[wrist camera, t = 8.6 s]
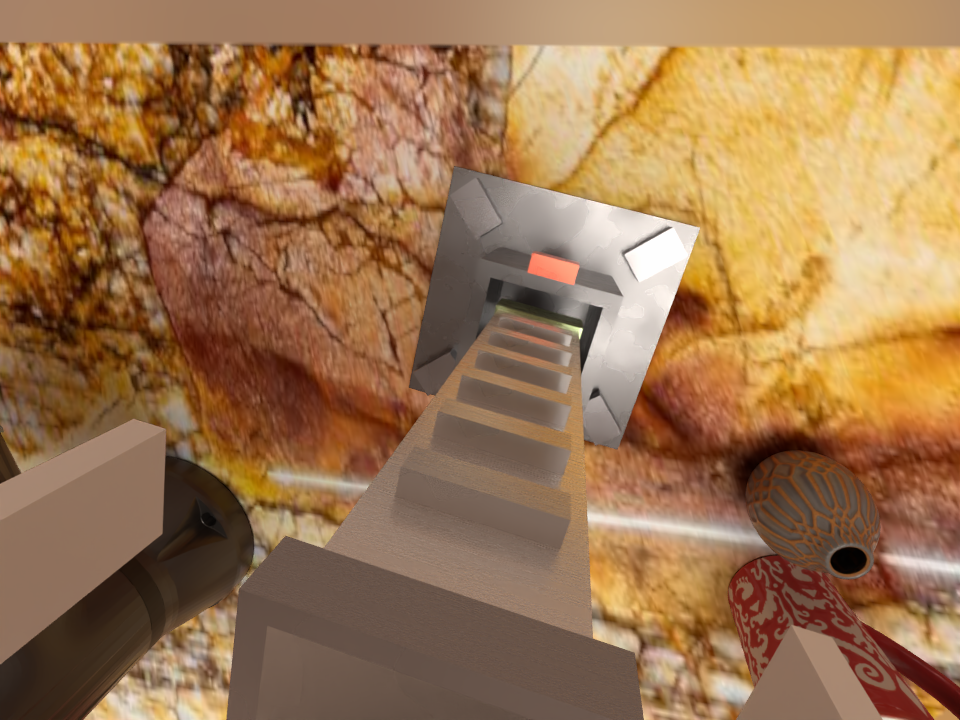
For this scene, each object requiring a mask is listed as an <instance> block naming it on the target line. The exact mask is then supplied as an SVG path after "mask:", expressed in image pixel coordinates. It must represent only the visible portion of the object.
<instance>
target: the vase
mask: <svg viewBox="0 0 960 720" xmlns="http://www.w3.org/2000/svg"><path fill="white" fill-rule="evenodd" d="M746 506H747V511H748V514H749V517H750V519H751V522H752V524H753V526H754V527H755V529H756V531H757V532H758V534H759V535H760V537H761V538H762V539H763V541H764V542H765V543H766V544H767V545H768V546H769V547H770V548H771V549H772V550H773V551H775V552H776V553H777V554H778V555H780V556H781V557H782V558H784V559H785V560H787V561H789V562H790V563H792V564H794V565H796V566H799V567H801V568H804V569H807V570H811V571H816V572H823V573H829V574H831V575H833V576H835V577H838V578H841V579H856V578H859V577H861V576H863V575H865V574H866V573H868V572H869V571H870V569H871V568H872V566H873V562H874V556H873V552H874V549H875V547H876V545H877V542H878V540H879V536H880V518H879V514H878V510H877V507H876V505H875V502H874V500H873V498H872V496H871V494H870V493H869V491H868V490H867V488H866V487H865V485H864V484H863V483H862V482H861V481H860V480H859V479H858V478H857V477H856V476H855V475H854V474H853V473H852V472H851V471H850V470H848V469H847V468H846V467H844V466H843V465H842V464H840V463H838V462H837V461H835V460H833V459H831V458H829V457H826V456H824V455H821V454H818V453H814V452H809V451H801V450H791V451H784V452H780V453H777V454H774V455H772V456H770V457H768V458H766V459H765V460H763V461H762V462H761V463H760V464H759V465H758V466H757V467H756V468H755V469H754V470H753V472H752V473H751V475H750V477H749V479H748V483H747V486H746Z"/></svg>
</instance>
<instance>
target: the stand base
mask: <svg viewBox="0 0 960 720" xmlns="http://www.w3.org/2000/svg"><path fill="white" fill-rule="evenodd" d="M699 230H700V228H699V227H695V226H691V225H687V224H683V223H679V222H675V221H671V220H667V219H663V218H659V217H655V216H651V215H647V214H643V213H639V212H635V211H631V210H627V209H623V208H619V207H615V206H611V205H607V204H603V203H599V202H595V201H591V200H587V199H583V198H579V197H575V196H571V195H567V194H563V193H559V192H555V191H551V190H547V189H543V188H539V187H535V186H531V185H527V184H523V183H519V182H515V181H511V180H507V179H504V178H500V177H496V176H492V175H488V174H484V173H480V172H476V171H472V170H468V169H464V168H460V167H456V166H454V171H453V175H452V180H451V185H450V190H449V195H448V200H447V205H446V209H445V214H444V219H443V224H442V229H441V234H440V239H439V243H438V248H437V253H436V258H435V263H434V268H433V272H432V277H431V282H430V287H429V292H428V297H427V302H426V306H425V311H424V316H423V321H422V326H421V331H420V336H419V340H418V345H417V350H416V355H415V360H414V365H413V370H412V374H411V379H410V384H409V388H412V389H415V390H419V391H422V392H425V393H426V394H427V395H430V394H432V395H436V394H437V392H438V391H439V390H440V388H441V387H442V386H443V384H444V383H445V381H446V380H447V379H448V377H449V376H450V375H451V373H452V372H453V371H454V369H455V368H456V366H457V365H458V364H459V362H460V361H461V360H462V358H463V357H464V355H465V354H466V353H467V351H468V350H469V349H470V347H471V346H472V344H473V343H474V342H475V340H476V339H477V338H478V336H479V335H480V333H481V332H482V331H483V329H484V328H485V327H486V325H487V324H488V323H489V321H490V320H491V318H492V317H493V316H494V312H495V308H496V305H497V303H498V302H499V301H500V300H501V298H504V299H508V300H512V301H515V302H519V303H523V304H526V305H530V306H534V307H537V308H541V309H545V310H548V311H552V312H556V313H559V314H563V315H566V316H570V317H574V318H577V319H581V320H582V324H583V330H582V333H581V336H580V339H579V344H580V367H581V389H582V411H583V433H584V440H587V441H590V442H594V444H595V445H598V444H600V445H604V446H607V447H610V448H614V449H618V447H619V444H620V441H621V438H622V436H623V433H624V430H625V428H626V425H627V422H628V420H629V417H630V414H631V412H632V409H633V406H634V404H635V401H636V398H637V396H638V393H639V390H640V388H641V385H642V382H643V380H644V377H645V374H646V372H647V369H648V366H649V364H650V361H651V358H652V356H653V353H654V350H655V348H656V345H657V342H658V340H659V337H660V334H661V332H662V329H663V326H664V324H665V321H666V318H667V316H668V313H669V310H670V307H671V305H672V302H673V299H674V297H675V294H676V291H677V289H678V286H679V283H680V281H681V278H682V275H683V273H684V270H685V267H686V265H687V262H688V259H689V257H690V254H691V251H692V249H693V246H694V243H695V241H696V238H697V235H698V233H699Z"/></svg>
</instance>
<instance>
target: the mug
mask: <svg viewBox="0 0 960 720" xmlns="http://www.w3.org/2000/svg"><path fill="white" fill-rule="evenodd" d="M728 600H729V604H730V608H731V611H732V614H733V618H734V621H735V624H736V627H737V630H738V634H739V637H740V641H741V646H742V648H743V651H744V654H745V659H746V662H747V665H748V668H749V671H750V674H751V677H752V681H753V684H754V688H755V686H756V685H757V683H758V681H759V680H760V678H761V676H762V674H763V673H764V671H765V669H766V667H767V666H768V664H769V662H770V660H771V659H772V657H773V655H774V654H775V652H776V650H777V648H778V647H779V645H780V643H781V641H782V640H783V638H784V636H785V634H786V633H787V631H788V629H789V628H790V626H791V625H794V626H797V627H800V628H803V629H807V630H810V631H813V632H816V633H819V634H823V635H826V636H829V637H832V638H833V640H834V641H835V643H836V645H837V646H838V648H839V649H840V651H841V653H842V654H843V656H844V658H845V659H846V661H847V662H848V664H849V666H850V667H851V669H852V670H853V672H854V674H855V675H856V677H857V679H858V680H859V682H860V683H861V685H862V687H863V688H864V690H865V692H866V693H867V695H868V696H869V698H870V700H871V701H872V703H873V705H874V706H875V708H876V709H877V711H878V713H879V714H880V716H881V717H882V719H883V720H934V719H933V717H932V716H931V715H930V713H929V712H928V711H927V709H926V708H925V707H924V705H923V704H922V703H921V701H920V700H919V699H918V697H917V696H916V695H915V693H914V692H913V691H912V689H911V688H910V687H909V685H908V684H907V683H906V682H905V680H904V679H903V678H902V676H901V675H900V674H899V672H900V673H901V674H902V675H904V676H905V677H907V678H908V679H909V680H911V681H912V682H914V683H915V684H916V685H918V686H919V687H920V688H922V689H923V690H925V691H926V692H927V693H929V694H930V695H931V696H933V697H934V698H935V699H936V700H938V701H939V702H940V703H941V704H942V705H943V706H945V707H946V708H947V709H948V710H950V711H951V712H952V713H953V714H954V715H955V716H956V717H957V718H958V719H959V720H960V688H959V687H958V686H957V685H956V684H955V683H953V682H952V681H951V680H950V679H948V678H947V677H946V676H944V675H943V674H942V673H940V672H939V671H938V670H936V669H935V668H933V667H932V666H930V665H929V664H928V663H926V662H925V661H923V660H922V659H920V658H919V657H917V656H916V655H914V654H913V653H911V652H910V651H908V650H907V649H905V648H904V647H902V646H901V645H899V644H898V643H896V642H895V641H893V640H891V639H890V638H888V637H886V636H885V635H883V634H882V633H880V632H878V631H877V630H875V629H873V628H872V627H870V626H868V625H866V624H865V623H862V622H861V621H859V619H858V618H857V617H856V615H855V614H854V613H853V611H852V610H851V609H850V607H849V606H848V605H847V604H846V602H845V601H844V600H843V598H842V597H841V596H840V594H839V593H838V591H837V590H836V588H835V587H834V586H833V584H832V583H831V582H830V580H829V579H828V578H827V577H826V575H825V574H824V573H823V572H816V571H811V570H807V569H804V568H801V567H799V566H796V565H794V564H792V563H790V562H789V561H787V560H785V559H784V558H782V557H781V556H780V555H776V556H768V557H763V558H760V559H757V560H754V561H752V562H750V563H748V564H747V565H745V566H744V567H742V568H741V569H740V570H739V571H738V572H737V573H736V574H735V576H734V577H733V579H732V581H731V583H730V585H729V590H728Z"/></svg>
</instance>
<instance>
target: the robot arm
mask: <svg viewBox="0 0 960 720" xmlns="http://www.w3.org/2000/svg"><path fill="white" fill-rule="evenodd" d="M1 432H4V431H3V428H2V426H1V425H0V720H83V719H84V718H85V717H86V716H87V715H88V714H89V713H90V712H91V711H92V710H93V709H94V708H95V707H96V706H97V705H98V703H99V702H100V701H101V700H102V699H103V698H104V697H105V696H106V695H107V694H108V693H109V692H110V691H111V690H112V689H113V688H114V687H115V686H116V684H117V683H118V682H119V681H120V680H121V679H122V678H123V677H124V676H125V675H126V674H127V673H128V672H129V671H130V670H131V669H132V668H133V666H134V665H135V664H136V663H137V662H138V661H139V660H140V659H141V658H142V657H143V656H144V655H145V654H146V653H147V651H148V650H149V649H150V648H151V647H152V646H153V645H154V644H155V643H156V642H157V641H158V640H159V639H160V638H161V637H162V636H163V635H165V634H167V633H168V632H170V631H172V630H173V629H175V628H177V627H178V626H180V625H182V624H183V623H185V622H187V621H188V620H190V619H192V618H193V617H195V616H196V615H198V614H200V613H201V612H203V611H204V610H206V609H207V608H210V607H212V606H214V605H216V604H218V603H219V602H220V601H222V600H223V599H224V598H225V597H226V596H228V594H229V593H230V592H231V591H232V590H233V589H234V588H235V587H236V586H237V584H238V583H239V582H240V581H241V580H242V579H243V578H244V576H245V575H246V573H247V572H248V570H249V567H250V565H251V561H252V557H253V538H252V533H251V529H250V526H249V523H248V520H247V518H246V516H245V514H244V512H243V510H242V508H241V506H240V505H239V503H238V502H237V500H236V499H235V498H234V496H233V495H232V494H231V493H230V492H229V491H228V489H227V488H226V487H225V486H224V485H223V484H222V483H220V482H219V481H218V480H217V479H216V478H214V477H213V476H212V475H210V474H209V473H207V472H206V471H204V470H203V469H201V468H199V467H197V466H195V465H193V464H191V463H189V462H186V461H183V460H180V459H176V458H172V457H165V449H166V429H165V428H161V427H158V426H155V425H152V424H149V423H146V422H142V421H139V420H136V419H132V420H130V421H128V422H126V423H124V424H122V425H120V426H118V427H116V428H114V429H112V430H110V431H108V432H106V433H104V434H102V435H99V436H97V437H95V438H93V439H91V440H89V441H87V442H85V443H83V444H81V445H79V446H77V447H75V448H73V449H71V450H69V451H67V452H65V453H62V454H60V455H58V456H56V457H54V458H52V459H50V460H48V461H46V462H44V463H42V464H40V465H38V466H36V467H34V468H32V469H30V470H28V471H26V472H23V473H21V472H20V470H19V468H18V466H17V464H16V462H15V460H14V458H13V456H12V454H11V452H10V450H9V449H8V447H7V445H6V443H5V441H4V439H3V437H2V435H1ZM736 720H883V719H882V717H881V716H880V714H879V713H878V711H877V709H876V708H875V706H874V705H873V703H872V701H871V700H870V698H869V696H868V695H867V693H866V692H865V690H864V688H863V687H862V685H861V683H860V682H859V680H858V679H857V677H856V675H855V674H854V672H853V670H852V669H851V667H850V666H849V664H848V662H847V661H846V659H845V658H844V656H843V654H842V653H841V651H840V649H839V648H838V646H837V645H836V643H835V641H834V640H833V638H832V637H829V636H826V635H823V634H819V633H816V632H813V631H810V630H807V629H803V628H800V627H797V626H794V625H791V626H790V628H789V629H788V631H787V633H786V634H785V636H784V638H783V640H782V641H781V643H780V645H779V647H778V648H777V650H776V652H775V654H774V655H773V657H772V659H771V660H770V662H769V664H768V666H767V667H766V669H765V671H764V673H763V674H762V676H761V678H760V680H759V681H758V683H757V685H756V686H755V688H754V690H753V692H752V693H751V695H750V697H749V699H748V700H747V702H746V704H745V706H744V707H743V709H742V711H741V712H740V714H739V716H738V718H737V719H736Z"/></svg>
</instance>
